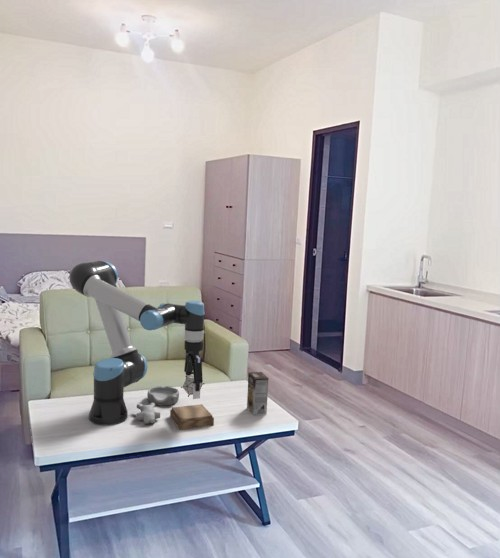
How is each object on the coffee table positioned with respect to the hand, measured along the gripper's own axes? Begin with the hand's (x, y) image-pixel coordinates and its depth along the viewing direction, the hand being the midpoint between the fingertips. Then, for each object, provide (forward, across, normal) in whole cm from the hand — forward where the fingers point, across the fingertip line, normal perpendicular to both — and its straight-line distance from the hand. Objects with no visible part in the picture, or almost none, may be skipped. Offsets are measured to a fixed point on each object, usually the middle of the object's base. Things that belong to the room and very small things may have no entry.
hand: (192, 394), depth 218 cm
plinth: (+11, 0, 0) cm, 11 cm away
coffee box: (+12, +2, -30) cm, 32 cm away
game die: (0, 0, 0) cm, 0 cm away
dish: (+11, +26, +5) cm, 29 cm away
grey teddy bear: (+11, +8, +16) cm, 22 cm away
